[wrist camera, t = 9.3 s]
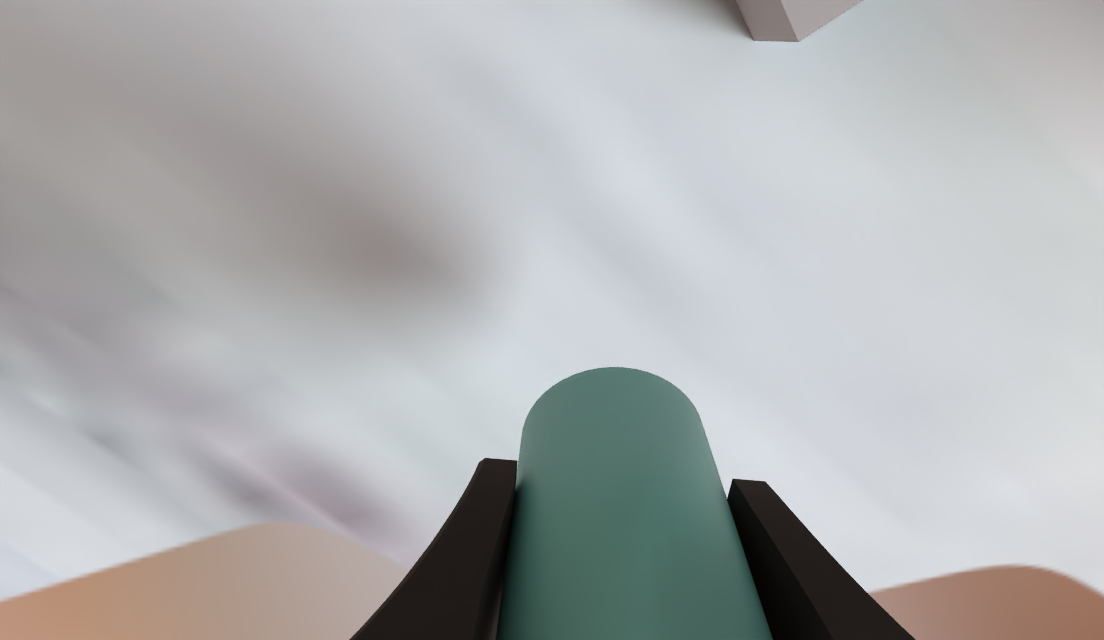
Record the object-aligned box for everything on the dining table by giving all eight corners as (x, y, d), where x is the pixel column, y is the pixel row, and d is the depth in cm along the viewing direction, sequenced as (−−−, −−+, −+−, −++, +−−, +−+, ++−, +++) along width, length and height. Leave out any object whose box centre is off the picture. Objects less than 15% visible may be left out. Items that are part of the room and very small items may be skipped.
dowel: (735, 469, 13) (884, 871, 7) (583, 537, 14) (589, 939, 8) (647, 334, 12) (732, 683, 5) (485, 421, 13) (400, 798, 7)
